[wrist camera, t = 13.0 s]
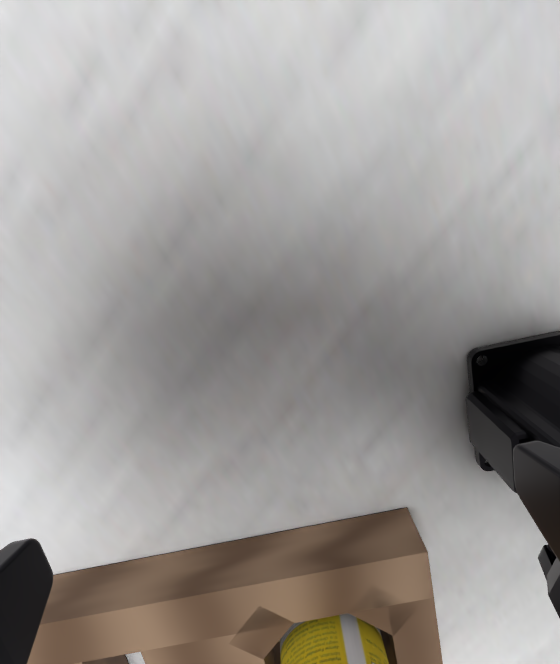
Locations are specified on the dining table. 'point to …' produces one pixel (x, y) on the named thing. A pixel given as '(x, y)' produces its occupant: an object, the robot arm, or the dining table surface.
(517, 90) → the dining table surface
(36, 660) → the socket board
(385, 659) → the supplement bottle
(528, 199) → the dining table surface
